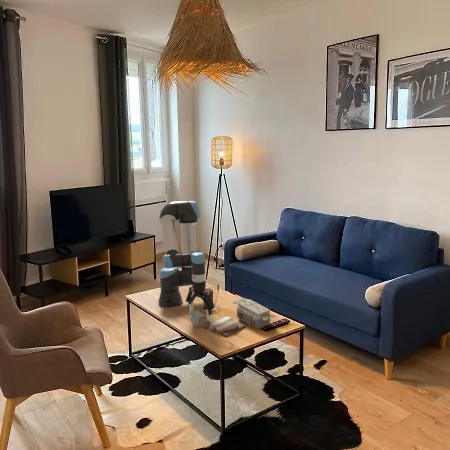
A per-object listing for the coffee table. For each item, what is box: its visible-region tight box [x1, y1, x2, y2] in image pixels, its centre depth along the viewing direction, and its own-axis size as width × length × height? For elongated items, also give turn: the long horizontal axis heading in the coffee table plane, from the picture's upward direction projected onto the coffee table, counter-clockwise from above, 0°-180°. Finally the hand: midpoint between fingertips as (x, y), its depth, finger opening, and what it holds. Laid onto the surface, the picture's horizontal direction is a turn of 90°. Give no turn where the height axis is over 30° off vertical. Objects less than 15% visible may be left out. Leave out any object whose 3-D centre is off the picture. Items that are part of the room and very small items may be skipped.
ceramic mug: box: [190, 310, 212, 329], centre depth 252 cm, size 11×8×8 cm
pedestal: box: [203, 316, 246, 338], centre depth 248 cm, size 16×16×4 cm
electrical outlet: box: [232, 298, 277, 330], centre depth 255 cm, size 12×28×10 cm, turn 37°
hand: (200, 317), depth 251 cm, fingers open, 13 cm apart
